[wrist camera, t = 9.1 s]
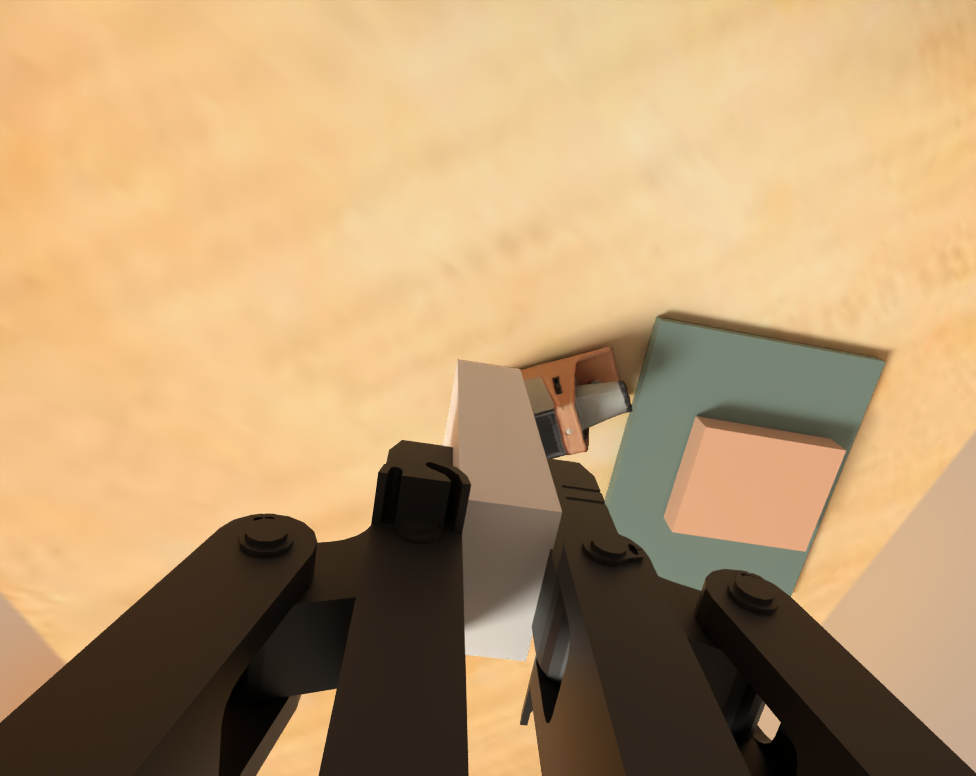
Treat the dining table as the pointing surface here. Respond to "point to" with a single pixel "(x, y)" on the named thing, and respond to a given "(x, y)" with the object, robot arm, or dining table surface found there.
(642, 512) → the mat
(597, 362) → the electronic device
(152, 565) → the dining table surface
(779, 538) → the tile
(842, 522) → the dining table surface
